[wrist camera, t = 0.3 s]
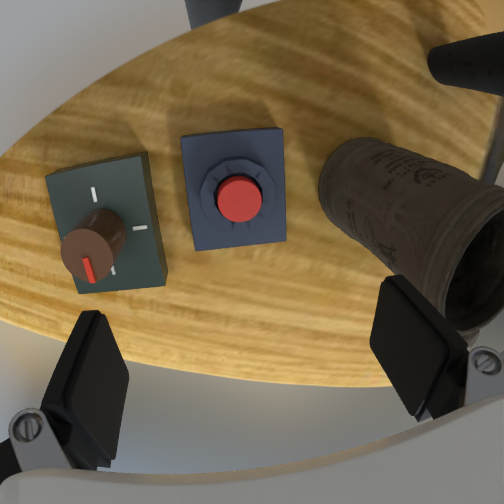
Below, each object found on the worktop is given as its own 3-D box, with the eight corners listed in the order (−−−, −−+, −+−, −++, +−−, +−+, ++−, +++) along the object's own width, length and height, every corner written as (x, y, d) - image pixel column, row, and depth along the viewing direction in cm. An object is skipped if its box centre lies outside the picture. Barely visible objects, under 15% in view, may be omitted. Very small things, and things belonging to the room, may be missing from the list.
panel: (58, 169, 26) (44, 176, 24) (147, 151, 27) (140, 156, 25) (86, 280, 32) (78, 295, 29) (168, 271, 33) (165, 286, 30)
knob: (75, 212, 26) (52, 234, 21) (120, 204, 26) (103, 226, 21) (87, 258, 28) (69, 286, 23) (131, 252, 28) (118, 281, 24)
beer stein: (295, 165, 30) (419, 278, 13) (377, 113, 28) (541, 168, 11) (354, 267, 37) (444, 392, 20) (419, 220, 36) (530, 316, 18)
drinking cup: (442, 26, 24) (578, 17, 6) (471, 78, 27) (602, 98, 9) (407, 52, 25) (560, 44, 7) (440, 107, 28) (585, 139, 10)
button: (215, 177, 26) (215, 182, 24) (257, 173, 26) (260, 178, 25) (219, 217, 27) (220, 224, 26) (259, 213, 28) (263, 220, 26)
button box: (182, 135, 27) (178, 139, 24) (277, 127, 28) (287, 129, 24) (195, 242, 32) (194, 260, 29) (281, 232, 33) (290, 249, 29)
